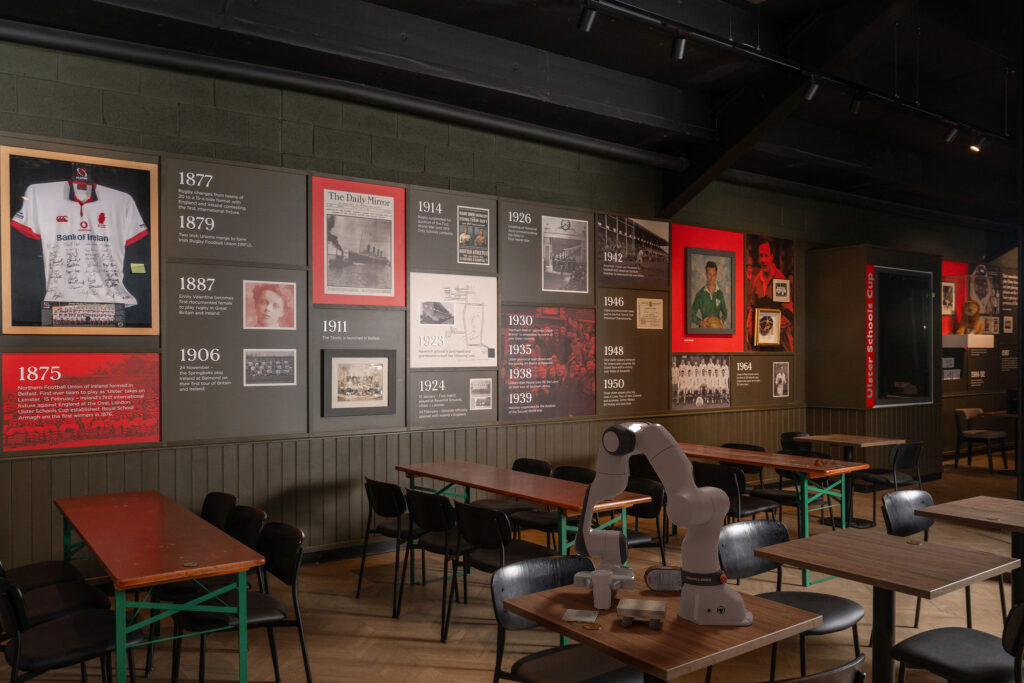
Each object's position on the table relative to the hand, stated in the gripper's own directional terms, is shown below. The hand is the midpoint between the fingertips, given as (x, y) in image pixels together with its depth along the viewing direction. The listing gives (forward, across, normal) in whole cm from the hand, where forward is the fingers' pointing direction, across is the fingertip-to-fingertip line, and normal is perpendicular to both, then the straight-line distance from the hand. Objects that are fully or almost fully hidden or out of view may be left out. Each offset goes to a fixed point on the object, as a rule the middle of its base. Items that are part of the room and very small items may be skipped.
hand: (601, 587), depth 240 cm
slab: (+11, +14, +7) cm, 19 cm away
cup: (-1, 0, +7) cm, 7 cm away
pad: (+10, -5, +7) cm, 13 cm away
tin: (-25, +19, +7) cm, 32 cm away
